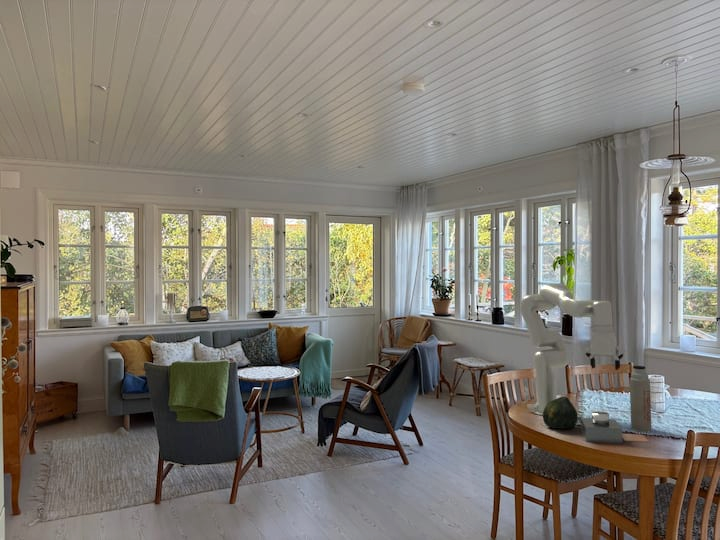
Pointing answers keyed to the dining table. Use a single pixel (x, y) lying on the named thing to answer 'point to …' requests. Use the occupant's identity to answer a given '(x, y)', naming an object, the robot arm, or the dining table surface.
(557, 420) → the squash
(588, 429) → the box
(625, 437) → the coaster
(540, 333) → the robot arm
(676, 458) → the dining table surface
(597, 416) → the end cover
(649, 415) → the thermos bottle
